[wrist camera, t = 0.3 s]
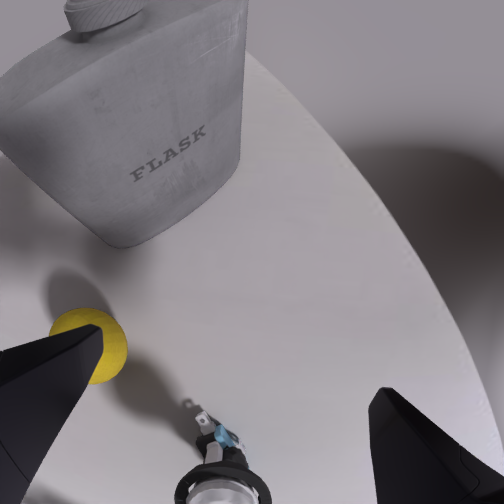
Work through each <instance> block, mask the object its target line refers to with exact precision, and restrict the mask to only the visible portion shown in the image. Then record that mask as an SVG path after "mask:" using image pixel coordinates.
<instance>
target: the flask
mask: <svg viewBox="0 0 504 504" xmlns="http://www.w3.org/2000/svg"><path fill="white" fill-rule="evenodd" d="M64 12H65V14H66V17H67V20H68V22H69V25H70V27H71V30H70V31H68V32H66V33H65V34H63V35H61V36H60V37H58V38H56V39H55V40H53V41H51V42H49V43H47V44H46V45H44V46H42V47H41V48H39V49H38V50H36V51H34V52H33V53H31V54H30V55H28V56H27V57H25V58H24V59H22V60H21V61H19V62H18V63H17V64H15V65H14V66H13V67H12V68H11V69H9V70H8V71H7V72H6V73H5V74H4V75H3V76H2V77H1V78H0V150H1V151H2V152H3V153H4V154H5V155H6V156H7V157H8V158H9V159H10V160H11V161H12V162H13V163H14V164H15V165H16V166H17V167H18V168H19V169H21V170H22V171H23V172H24V173H25V174H26V175H27V176H28V177H29V178H30V179H31V180H32V181H34V182H35V183H36V184H37V185H38V186H39V187H40V188H41V189H42V190H44V191H45V192H46V193H47V194H48V195H49V196H50V197H51V198H53V199H54V200H55V201H56V202H57V203H58V204H60V205H61V206H62V207H63V208H64V209H65V210H67V211H68V212H69V213H70V214H71V215H73V216H74V217H75V218H76V219H77V220H79V221H80V222H81V223H82V224H83V225H85V226H86V227H87V228H88V229H90V230H91V231H92V232H93V233H95V234H96V235H97V236H98V237H100V238H101V239H102V240H103V241H105V242H106V243H107V244H109V245H110V246H113V247H116V248H129V247H132V246H135V245H138V244H141V243H143V242H145V241H147V240H149V239H151V238H153V237H154V236H156V235H158V234H160V233H161V232H163V231H165V230H166V229H168V228H170V227H171V226H173V225H174V224H176V223H177V222H179V221H180V220H182V219H183V218H185V217H186V216H187V215H189V214H190V213H191V212H193V211H194V210H195V209H197V208H198V207H199V206H200V205H202V204H203V203H204V202H205V201H206V200H207V199H209V198H210V197H211V196H212V195H213V194H214V193H215V192H216V191H217V190H218V189H219V188H221V187H222V186H223V185H224V183H225V182H226V181H227V180H228V179H229V178H230V177H231V176H232V174H233V173H234V171H235V170H236V168H237V166H238V163H239V160H240V141H241V120H242V100H243V81H244V63H245V46H246V29H247V14H248V0H67V3H66V4H65V5H64Z"/></svg>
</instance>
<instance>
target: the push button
mask: <svg viewBox="0 0 504 504" xmlns="http://www.w3.org/2000/svg"><path fill="white" fill-rule="evenodd" d="M195 419H196V421H197V422H198V424H199V426H200V427H201V429H200V431H201V432H202V436H200V437H198V438H197V440H196V445H197V447H198V449H199V450H200V452H201V453H202V455H203V457H204V461H203V464H201V465H197V466H196V467H195V468H194V469H192V470H191V471H190V472H188V473H187V474H186V475H185V476H184V477H183V478H182V479H181V480H180V482H179V483H178V485H177V488H176V491H175V495H174V500H175V504H272V498H271V494H270V491H269V489H268V487H267V485H266V484H265V483H264V481H263V480H262V479H261V478H260V477H259V476H257V475H256V474H255V473H253V472H252V471H250V470H249V466H248V463H247V461H246V458H245V456H244V455H245V454H246V450H245V447H244V445H243V443H242V442H241V440H240V439H239V438H238V443H239V444H237V445H234V443H233V441H232V440H231V438H230V437H229V435H228V433H227V432H226V430H225V428H224V427H223V425H222V424H221V425H219V426H216V425H215V423H214V421H212V422H211V420H210V418H209V417H208V415H207V413H206V411H203V412H200V413H198V414H197V417H196V418H195ZM202 419H204V420H202ZM194 483H195V485H194V488H193V489H192V490H191V491H190V493H189V491H188V489H189V487H190V486H191V485H192V484H194ZM252 486H253V487H254V488H255V489H256V491H257V492H258V494H259V496H258V498H257V496H256V495H255V494H254V491H253V487H252Z"/></svg>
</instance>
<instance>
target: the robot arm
mask: <svg viewBox="0 0 504 504" xmlns="http://www.w3.org/2000/svg"><path fill="white" fill-rule="evenodd" d="M103 351H104V343H103V330H102V328H101V327H99V326H97V325H94V324H87V325H84V326H81V327H78V328H74V329H71V330H68V331H65V332H62V333H59V334H55V335H52V336H49V337H46V338H42V339H39V340H36V341H33V342H29V343H26V344H23V345H19V346H16V347H13V348H9V349H6V350H3V351H0V504H20V503H21V501H22V499H23V497H24V495H25V493H26V491H27V489H28V487H29V486H30V483H31V481H32V479H33V478H34V476H35V474H36V472H37V470H38V468H39V467H40V465H41V463H42V461H43V459H44V458H45V456H46V454H47V452H48V450H49V449H50V447H51V445H52V443H53V442H54V440H55V438H56V437H57V435H58V433H59V432H60V430H61V428H62V427H63V425H64V423H65V422H66V420H67V418H68V417H69V415H70V413H71V412H72V410H73V408H74V407H75V405H76V404H77V402H78V400H79V399H80V397H81V396H82V394H83V392H84V391H85V389H86V387H87V385H88V383H89V381H90V379H91V377H92V375H93V373H94V370H95V368H96V366H97V364H98V362H99V360H100V358H101V356H102V354H103ZM368 414H369V432H370V449H371V457H372V464H373V471H374V479H375V487H376V495H377V504H504V476H502V475H501V474H499V473H498V472H496V471H495V470H493V469H492V468H490V467H489V466H487V465H486V464H485V463H483V462H482V461H480V460H479V459H477V458H476V457H475V456H474V455H472V454H471V453H470V452H468V451H467V450H466V449H465V448H464V447H462V446H461V445H460V446H459V443H457V442H456V441H455V440H454V439H453V438H451V437H450V436H449V435H448V434H447V433H445V432H444V431H443V430H442V429H441V428H439V427H438V426H437V425H436V424H435V423H433V422H432V421H431V420H430V419H429V418H427V417H426V416H425V415H424V414H423V413H421V412H420V411H419V410H418V409H417V408H415V407H414V406H413V405H412V404H411V403H410V402H408V401H407V400H406V399H405V398H404V397H402V396H401V395H400V394H399V393H398V392H396V391H395V390H394V389H393V388H388V387H382V388H380V389H379V390H378V392H377V393H376V395H375V397H374V398H373V400H372V402H371V403H370V405H369V409H368Z"/></svg>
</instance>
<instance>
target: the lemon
mask: <svg viewBox="0 0 504 504" xmlns="http://www.w3.org/2000/svg"><path fill="white" fill-rule="evenodd" d="M87 324H94V325H97V326H99V327H101V328H102V330H103V343H104V351H103V354H102V356H101V358H100V360H99V362H98V364H97V366H96V368H95V370H94V373H93V375H92V377H91V379H90V381H89V383H88V384H99V383H103V382H106V381H108V380H110V379H111V378H113V377H114V376H116V375H117V374H118V373H119V371H120V370H121V369H122V368H123V366H124V363H125V361H126V358H127V352H128V347H127V340H126V336H125V333H124V332H123V330H122V328H121V326H120V325H119V324H118V323H117V322H116V320H115V319H114V318H112V317H111V316H109V315H108V314H107V313H105V312H102V311H100V310H97V309H94V308H78V309H74V310H70V311H68V312H66V313H64V314H62V315H61V316H60V317H59V318H58V319H57V320H56V321H55V322H54V324H53V326H52V327H51V329H50V333H49V336H52V335H55V334H59V333H62V332H65V331H68V330H71V329H74V328H78V327H81V326H84V325H87Z"/></svg>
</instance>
